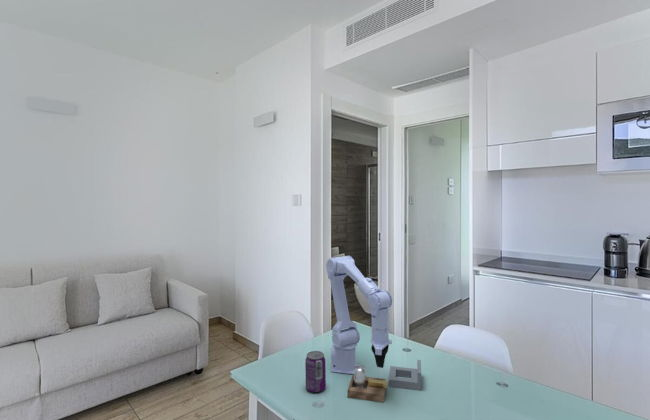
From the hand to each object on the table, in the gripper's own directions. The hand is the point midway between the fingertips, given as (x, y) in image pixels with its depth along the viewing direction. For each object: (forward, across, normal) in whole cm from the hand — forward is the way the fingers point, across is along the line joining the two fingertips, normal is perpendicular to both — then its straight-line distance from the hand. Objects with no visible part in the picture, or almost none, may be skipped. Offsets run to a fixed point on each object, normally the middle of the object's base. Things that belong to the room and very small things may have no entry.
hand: (380, 366), depth 114 cm
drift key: (+6, 0, +1) cm, 7 cm away
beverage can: (+10, -2, +22) cm, 25 cm away
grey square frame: (+9, +10, -8) cm, 15 cm away
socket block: (+9, 0, +4) cm, 10 cm away
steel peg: (+9, 0, +7) cm, 12 cm away
